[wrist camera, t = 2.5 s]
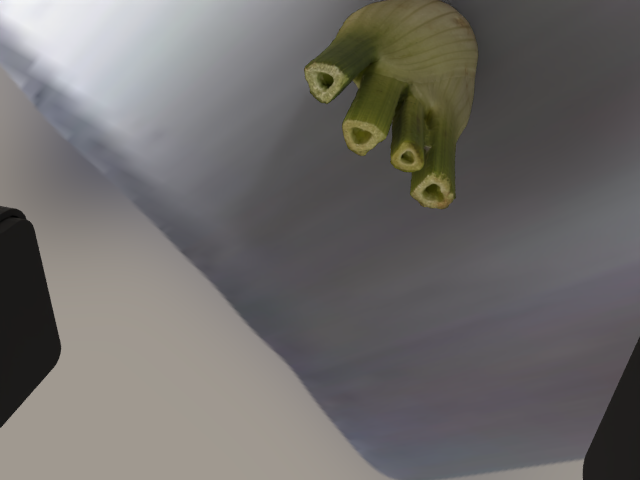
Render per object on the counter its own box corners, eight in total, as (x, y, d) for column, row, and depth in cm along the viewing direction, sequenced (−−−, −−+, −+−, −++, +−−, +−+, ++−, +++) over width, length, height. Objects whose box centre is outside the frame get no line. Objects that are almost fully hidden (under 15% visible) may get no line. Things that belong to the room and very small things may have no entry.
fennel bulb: (351, 1, 26) (273, 72, 16) (460, -38, 24) (450, 13, 14) (388, 121, 28) (342, 247, 18) (490, 93, 27) (500, 216, 17)
